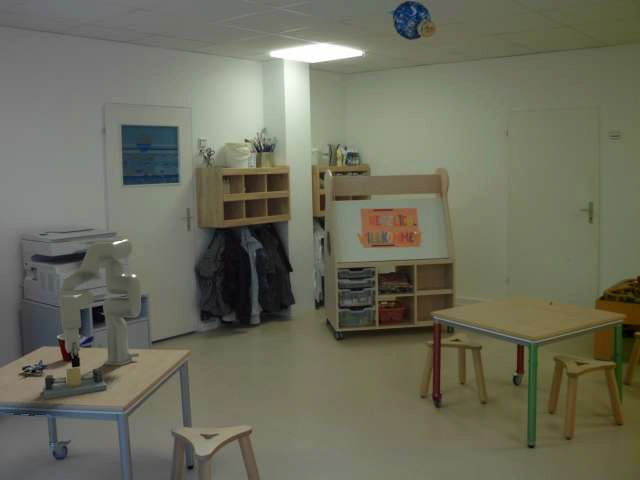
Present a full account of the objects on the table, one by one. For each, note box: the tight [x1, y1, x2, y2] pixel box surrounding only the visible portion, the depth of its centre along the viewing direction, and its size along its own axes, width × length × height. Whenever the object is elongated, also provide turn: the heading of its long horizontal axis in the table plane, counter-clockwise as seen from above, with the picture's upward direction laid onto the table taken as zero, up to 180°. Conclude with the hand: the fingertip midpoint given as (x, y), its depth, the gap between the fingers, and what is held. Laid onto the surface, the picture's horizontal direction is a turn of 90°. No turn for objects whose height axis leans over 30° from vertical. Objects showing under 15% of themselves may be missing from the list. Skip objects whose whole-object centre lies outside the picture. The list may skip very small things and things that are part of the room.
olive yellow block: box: [66, 367, 82, 388], centre depth 287 cm, size 5×4×7 cm
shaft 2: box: [81, 367, 104, 383], centre depth 291 cm, size 8×4×5 cm, turn 132°
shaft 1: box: [44, 374, 67, 390], centre depth 285 cm, size 8×4×5 cm, turn 102°
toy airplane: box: [19, 359, 49, 378], centre depth 312 cm, size 13×14×4 cm
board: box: [42, 378, 108, 400], centre depth 288 cm, size 24×11×2 cm, turn 117°
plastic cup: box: [56, 333, 81, 362], centre depth 334 cm, size 11×11×12 cm
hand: (74, 363), depth 287 cm, fingers open, 9 cm apart
